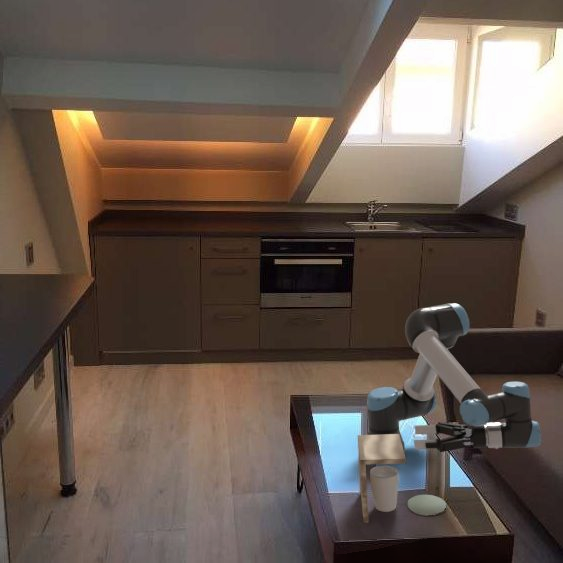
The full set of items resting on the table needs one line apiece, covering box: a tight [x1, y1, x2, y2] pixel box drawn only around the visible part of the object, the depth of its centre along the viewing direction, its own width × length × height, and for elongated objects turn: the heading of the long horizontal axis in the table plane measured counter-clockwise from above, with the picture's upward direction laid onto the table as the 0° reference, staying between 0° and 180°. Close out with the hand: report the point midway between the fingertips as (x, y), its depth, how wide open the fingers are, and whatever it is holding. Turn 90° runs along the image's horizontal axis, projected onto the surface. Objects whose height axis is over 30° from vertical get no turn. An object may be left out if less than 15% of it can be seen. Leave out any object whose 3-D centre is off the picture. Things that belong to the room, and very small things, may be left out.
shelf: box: [357, 434, 407, 524], centre depth 197 cm, size 14×18×20 cm
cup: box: [369, 464, 400, 513], centre depth 197 cm, size 9×9×12 cm
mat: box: [407, 494, 447, 517], centre depth 197 cm, size 12×12×1 cm
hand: (414, 437), depth 194 cm, fingers open, 13 cm apart
